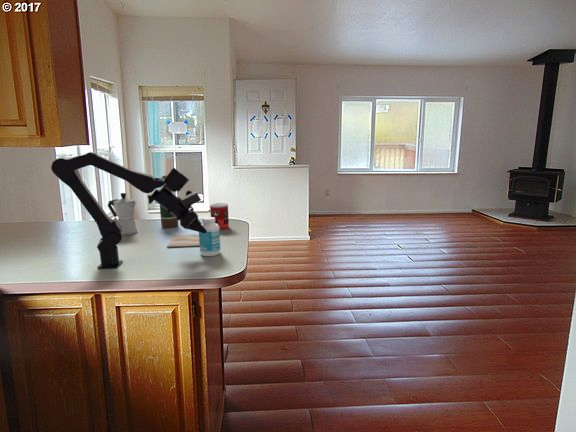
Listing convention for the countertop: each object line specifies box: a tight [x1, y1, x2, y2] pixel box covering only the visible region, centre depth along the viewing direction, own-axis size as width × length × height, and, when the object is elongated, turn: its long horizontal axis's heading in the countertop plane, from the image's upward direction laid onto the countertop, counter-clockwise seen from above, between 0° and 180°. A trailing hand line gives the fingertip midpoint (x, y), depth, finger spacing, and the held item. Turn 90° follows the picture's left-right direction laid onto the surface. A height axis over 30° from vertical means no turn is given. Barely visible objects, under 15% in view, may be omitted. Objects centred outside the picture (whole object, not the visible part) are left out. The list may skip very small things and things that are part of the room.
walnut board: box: [166, 234, 200, 249], centre depth 164 cm, size 16×13×1 cm
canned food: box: [209, 202, 230, 231], centre depth 185 cm, size 8×8×11 cm
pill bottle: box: [198, 216, 221, 257], centre depth 146 cm, size 8×7×14 cm
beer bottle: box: [159, 175, 179, 229], centre depth 188 cm, size 8×8×24 cm
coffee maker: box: [107, 192, 138, 236], centre depth 178 cm, size 15×9×18 cm, turn 74°
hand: (204, 229), depth 145 cm, fingers open, 9 cm apart
